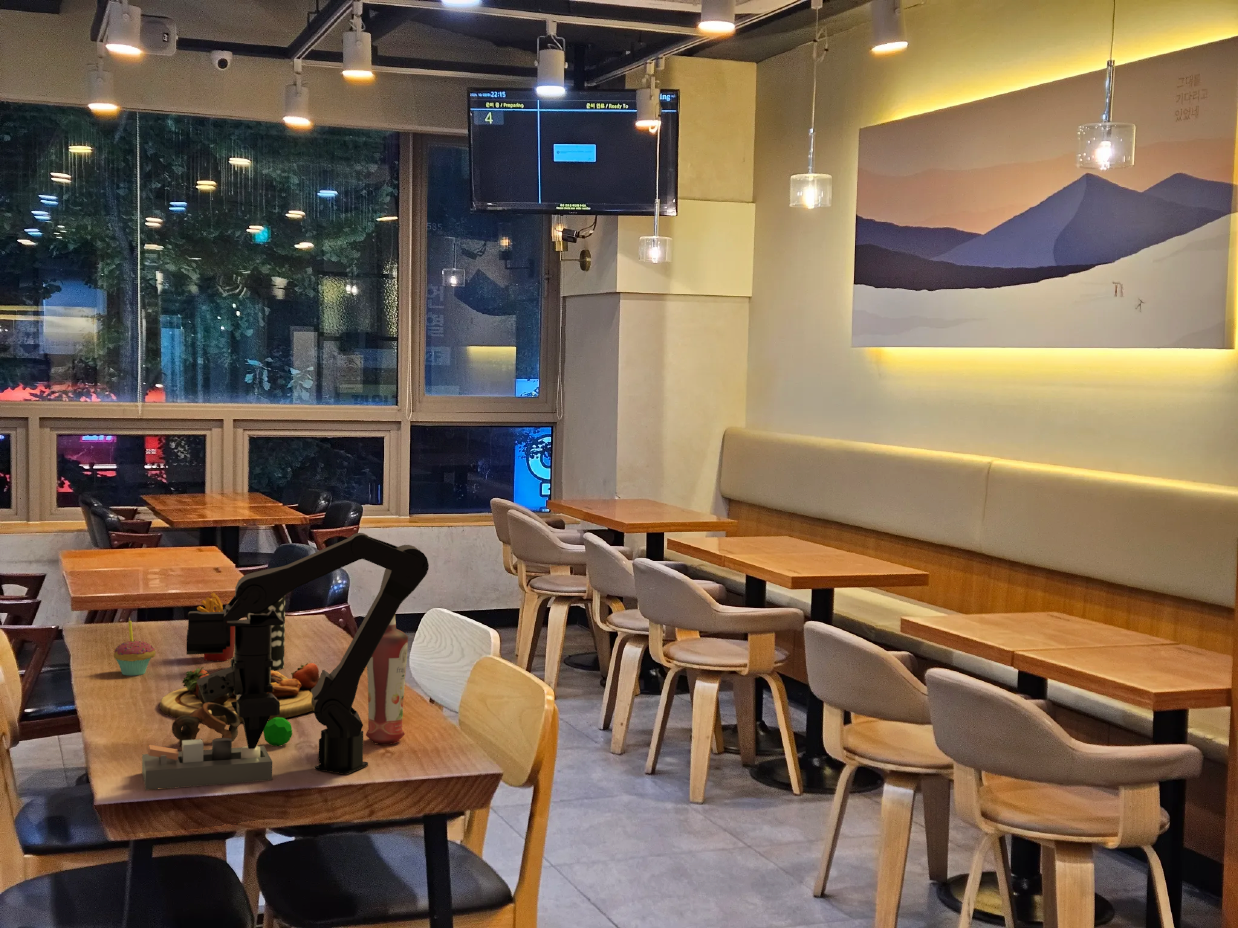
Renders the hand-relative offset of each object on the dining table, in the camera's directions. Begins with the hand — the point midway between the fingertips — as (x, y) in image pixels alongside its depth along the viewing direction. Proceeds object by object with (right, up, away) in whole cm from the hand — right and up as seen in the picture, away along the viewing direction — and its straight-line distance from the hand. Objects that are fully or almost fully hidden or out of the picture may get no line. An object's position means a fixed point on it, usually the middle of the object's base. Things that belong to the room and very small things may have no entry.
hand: (251, 748), depth 214 cm
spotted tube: (-20, 0, +83) cm, 85 cm away
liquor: (+18, -4, +22) cm, 29 cm away
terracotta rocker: (-13, 0, -5) cm, 14 cm away
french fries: (-34, +1, +91) cm, 97 cm away
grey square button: (-8, -1, -4) cm, 9 cm away
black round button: (-4, -1, -2) cm, 5 cm away
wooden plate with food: (-14, -2, +48) cm, 50 cm away
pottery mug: (-13, -3, +16) cm, 21 cm away
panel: (-6, -4, -2) cm, 8 cm away
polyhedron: (0, -4, +18) cm, 18 cm away
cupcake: (-46, 0, +73) cm, 86 cm away
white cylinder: (0, -3, 0) cm, 3 cm away
